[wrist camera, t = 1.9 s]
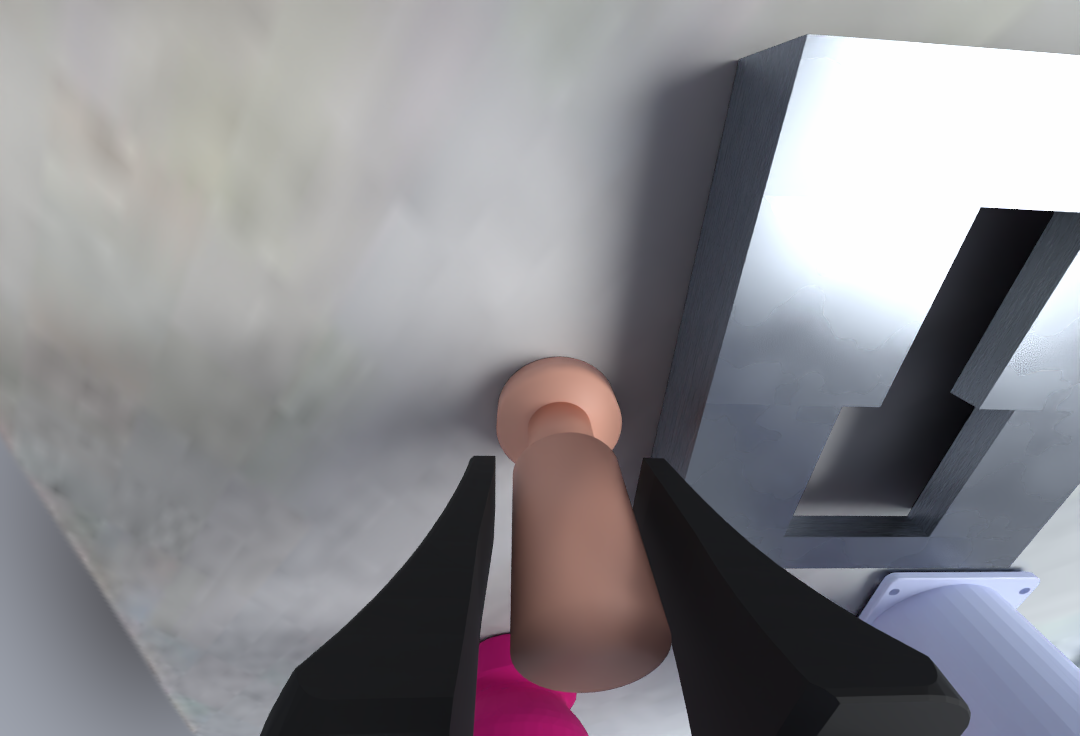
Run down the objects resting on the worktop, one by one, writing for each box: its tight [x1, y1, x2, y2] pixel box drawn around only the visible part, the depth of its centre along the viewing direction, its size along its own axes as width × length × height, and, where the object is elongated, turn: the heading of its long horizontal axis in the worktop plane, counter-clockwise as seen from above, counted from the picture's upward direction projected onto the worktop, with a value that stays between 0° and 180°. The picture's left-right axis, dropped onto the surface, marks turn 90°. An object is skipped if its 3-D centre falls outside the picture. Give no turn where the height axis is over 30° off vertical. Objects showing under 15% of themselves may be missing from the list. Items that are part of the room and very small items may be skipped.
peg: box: [496, 357, 672, 693], centre depth 12 cm, size 4×4×9 cm
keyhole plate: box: [651, 34, 1080, 568], centre depth 14 cm, size 16×14×3 cm
